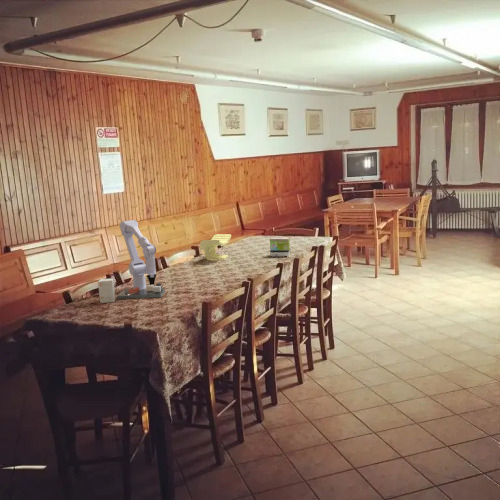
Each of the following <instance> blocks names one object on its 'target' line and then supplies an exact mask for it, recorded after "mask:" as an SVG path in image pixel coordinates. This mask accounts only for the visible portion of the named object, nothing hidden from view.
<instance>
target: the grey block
mask: <svg viewBox="0 0 500 500" xmlns="http://www.w3.org/2000/svg"><path fill="white" fill-rule="evenodd" d="M161 286H162V285H161ZM161 286H156V285H154V287H153V291H154V292H161Z"/></svg>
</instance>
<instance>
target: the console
mask: <svg viewBox="0 0 500 500" xmlns="http://www.w3.org/2000/svg"><path fill="white" fill-rule="evenodd" d="M165 292H166V291H165V288H164V286H162V285H161V292H154V291H147V289H144V290H139V292H137V293H132V294H128V295H125V291H124V290H122V291H121V292H119V294H117V295H116V297H117V298H116V300H128V299H129V300H130V299H133V300H134V299H160V298H162V297H163V295H164V293H165Z"/></svg>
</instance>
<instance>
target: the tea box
mask: <svg viewBox="0 0 500 500" xmlns="http://www.w3.org/2000/svg"><path fill="white" fill-rule="evenodd" d="M290 243H291V242H290V236H274V237H273V236H272V237H270V239H269V254H270V257H271V256H272V257H282V256H288V257H289V256H290V254H291V253H290V252H291V251H290V250H291V249H290V247H291V246H290Z"/></svg>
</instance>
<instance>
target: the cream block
mask: <svg viewBox="0 0 500 500" xmlns="http://www.w3.org/2000/svg"><path fill="white" fill-rule="evenodd" d="M146 285H147V286H146V288H145V289H146V290H147V291H153V287H154V286H155V284H154V285H150V284H146Z"/></svg>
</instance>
